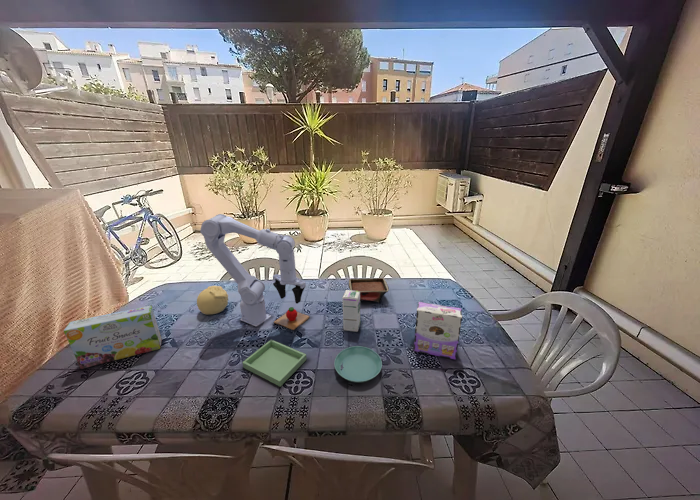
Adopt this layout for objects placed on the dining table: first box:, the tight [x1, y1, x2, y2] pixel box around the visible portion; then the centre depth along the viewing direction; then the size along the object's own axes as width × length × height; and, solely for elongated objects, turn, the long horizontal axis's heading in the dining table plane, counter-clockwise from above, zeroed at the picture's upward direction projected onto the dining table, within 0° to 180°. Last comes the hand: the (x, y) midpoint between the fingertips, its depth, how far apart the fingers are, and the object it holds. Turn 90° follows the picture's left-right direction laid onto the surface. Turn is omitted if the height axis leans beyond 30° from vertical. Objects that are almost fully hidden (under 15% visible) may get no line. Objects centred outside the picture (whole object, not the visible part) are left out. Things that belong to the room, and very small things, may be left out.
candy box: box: [412, 301, 463, 360], centre depth 90 cm, size 14×6×16 cm, turn 71°
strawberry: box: [285, 306, 298, 321], centre depth 108 cm, size 4×4×5 cm
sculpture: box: [196, 285, 229, 316], centre depth 114 cm, size 12×12×11 cm
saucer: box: [333, 345, 383, 384], centre depth 84 cm, size 15×15×3 cm
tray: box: [241, 339, 307, 388], centre depth 86 cm, size 15×12×2 cm
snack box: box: [63, 305, 163, 370], centre depth 88 cm, size 21×6×15 cm, turn 117°
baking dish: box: [347, 277, 390, 304], centre depth 124 cm, size 14×18×10 cm
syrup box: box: [341, 289, 361, 333], centre depth 102 cm, size 6×6×14 cm
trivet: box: [273, 311, 311, 331], centre depth 109 cm, size 10×10×1 cm
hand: (290, 299), depth 106 cm, fingers open, 7 cm apart
